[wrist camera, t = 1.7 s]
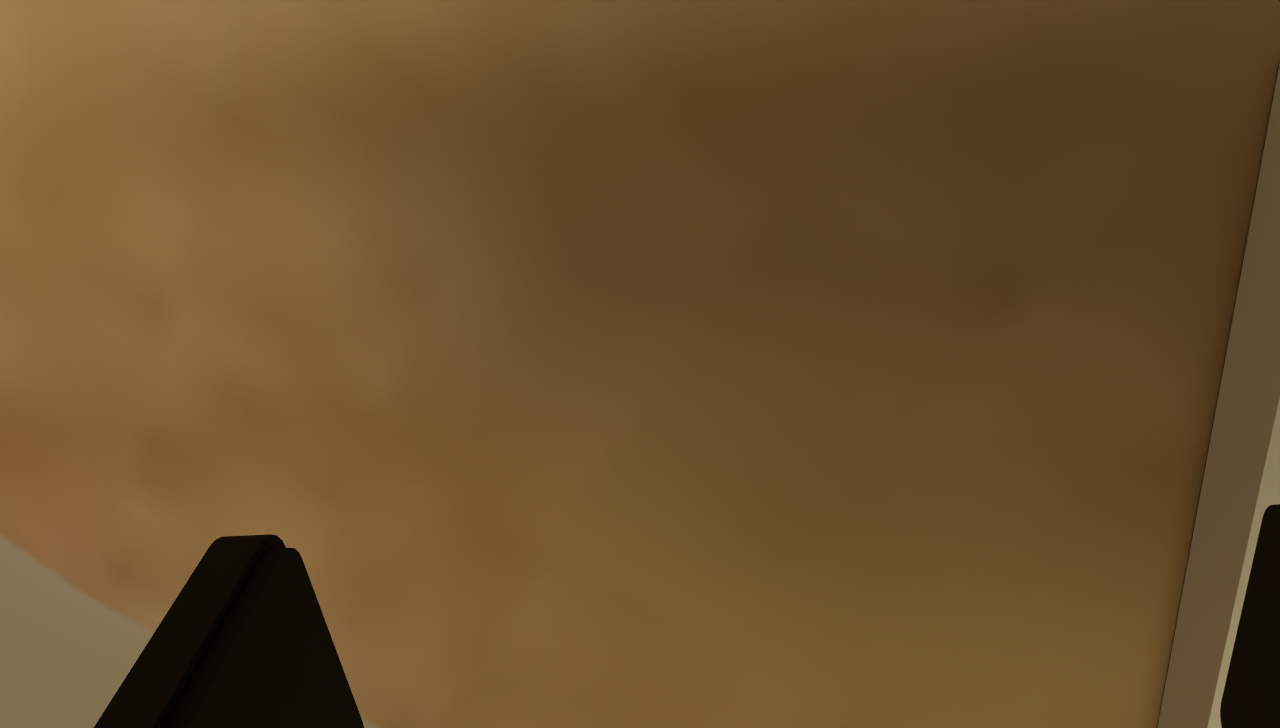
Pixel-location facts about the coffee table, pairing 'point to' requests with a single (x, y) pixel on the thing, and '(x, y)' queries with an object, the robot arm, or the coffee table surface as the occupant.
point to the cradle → (1234, 469)
